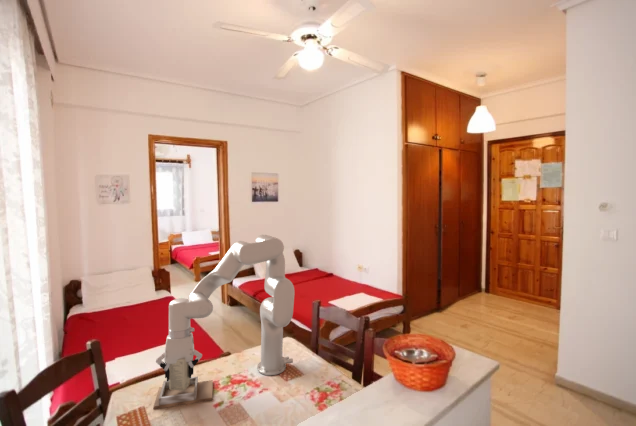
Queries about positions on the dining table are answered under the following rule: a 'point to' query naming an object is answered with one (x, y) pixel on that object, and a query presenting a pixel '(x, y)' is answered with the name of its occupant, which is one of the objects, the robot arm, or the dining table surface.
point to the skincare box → (179, 375)
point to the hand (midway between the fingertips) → (179, 377)
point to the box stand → (184, 394)
